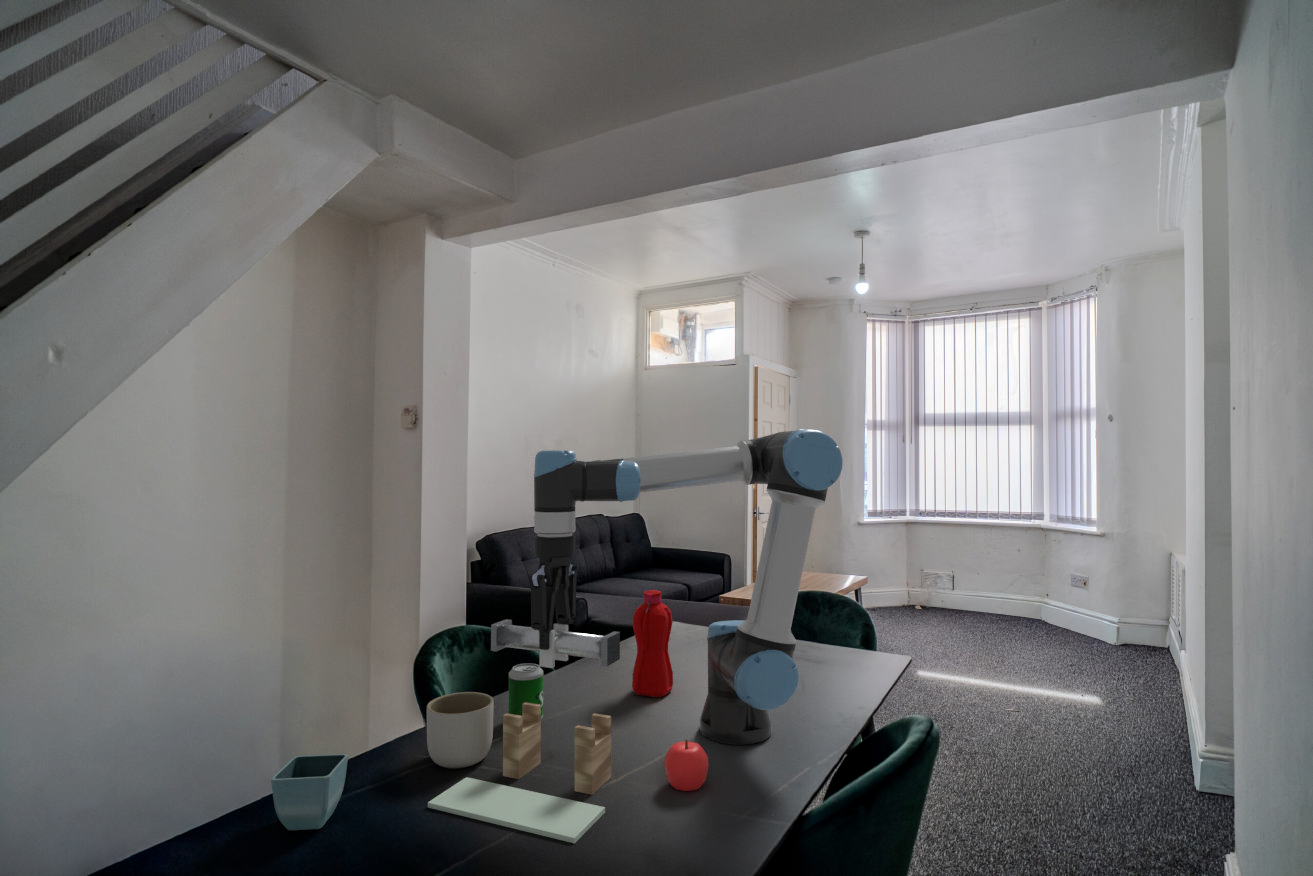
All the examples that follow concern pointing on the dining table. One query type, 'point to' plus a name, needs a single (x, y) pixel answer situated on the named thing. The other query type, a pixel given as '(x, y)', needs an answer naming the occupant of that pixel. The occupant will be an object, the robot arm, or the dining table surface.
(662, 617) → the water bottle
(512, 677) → the soda can
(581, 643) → the rail
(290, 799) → the flower pot
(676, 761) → the apple
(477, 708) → the planter
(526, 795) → the board
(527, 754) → the post far
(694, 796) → the dining table surface
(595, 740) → the post near
